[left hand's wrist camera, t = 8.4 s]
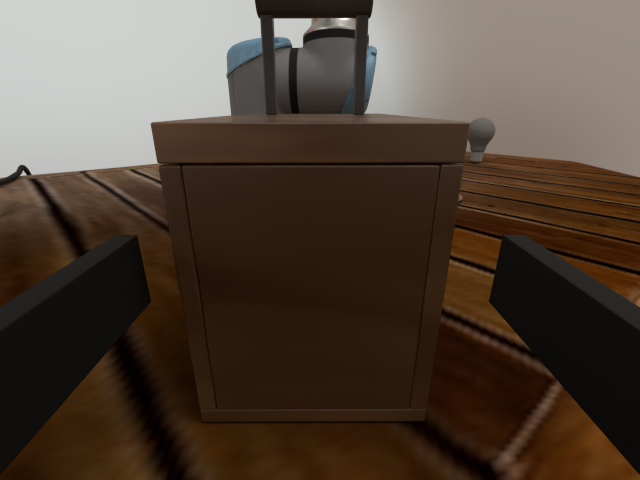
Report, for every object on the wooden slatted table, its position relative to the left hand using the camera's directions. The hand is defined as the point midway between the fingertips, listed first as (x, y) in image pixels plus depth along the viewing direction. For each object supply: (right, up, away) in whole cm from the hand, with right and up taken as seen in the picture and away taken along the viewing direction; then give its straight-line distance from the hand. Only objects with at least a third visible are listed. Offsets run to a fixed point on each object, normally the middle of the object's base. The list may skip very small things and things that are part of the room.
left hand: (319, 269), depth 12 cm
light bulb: (+37, +19, +69) cm, 80 cm away
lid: (0, +6, +5) cm, 8 cm away
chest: (0, -4, +9) cm, 10 cm away
